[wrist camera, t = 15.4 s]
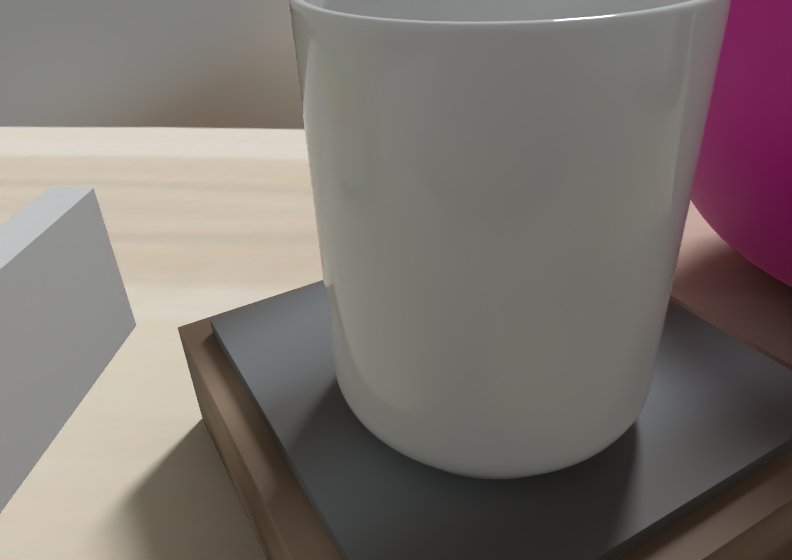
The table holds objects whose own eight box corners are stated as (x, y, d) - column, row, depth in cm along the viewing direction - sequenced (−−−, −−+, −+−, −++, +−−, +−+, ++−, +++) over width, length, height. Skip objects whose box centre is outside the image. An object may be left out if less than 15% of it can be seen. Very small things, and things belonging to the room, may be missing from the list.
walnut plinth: (848, 529, 21) (906, 411, 18) (405, 858, 14) (394, 750, 12) (522, 293, 33) (528, 201, 30) (202, 417, 26) (174, 313, 24)
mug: (679, 518, 16) (817, 15, 10) (308, 495, 17) (228, 30, 11) (603, 258, 26) (648, -67, 20) (375, 254, 27) (353, -55, 21)
